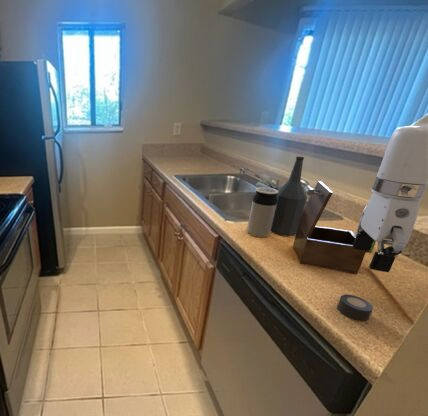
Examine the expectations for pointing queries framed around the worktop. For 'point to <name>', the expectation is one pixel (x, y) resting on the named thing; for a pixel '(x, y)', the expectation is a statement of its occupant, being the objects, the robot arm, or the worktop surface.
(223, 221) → the worktop surface
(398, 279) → the worktop surface
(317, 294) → the worktop surface
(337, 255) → the bin
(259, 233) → the travel mug
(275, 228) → the bottle
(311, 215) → the lid
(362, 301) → the tape
